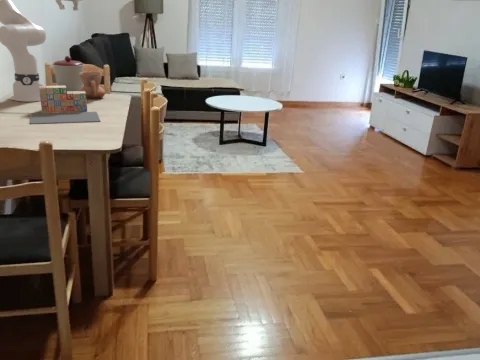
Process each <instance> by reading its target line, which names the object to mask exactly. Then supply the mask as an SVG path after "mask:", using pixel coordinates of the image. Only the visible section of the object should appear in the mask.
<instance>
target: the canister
mask: <svg viewBox="0 0 480 360" xmlns="http://www.w3.org/2000/svg"><path fill="white" fill-rule="evenodd" d="M51 65H52V66H53V71H54V76H55V81H56V86H66V88H67V91H79V90H80V89H81V88H83V87H84V84H83V82H82V80H81V78H80V74H79V73H81V72H84V66H85V63H83V62H81V61H79V60H72V57H71V56H70V55H65V57H64V60H57V61H54V62H53V63H52V64H51Z"/></svg>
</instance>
